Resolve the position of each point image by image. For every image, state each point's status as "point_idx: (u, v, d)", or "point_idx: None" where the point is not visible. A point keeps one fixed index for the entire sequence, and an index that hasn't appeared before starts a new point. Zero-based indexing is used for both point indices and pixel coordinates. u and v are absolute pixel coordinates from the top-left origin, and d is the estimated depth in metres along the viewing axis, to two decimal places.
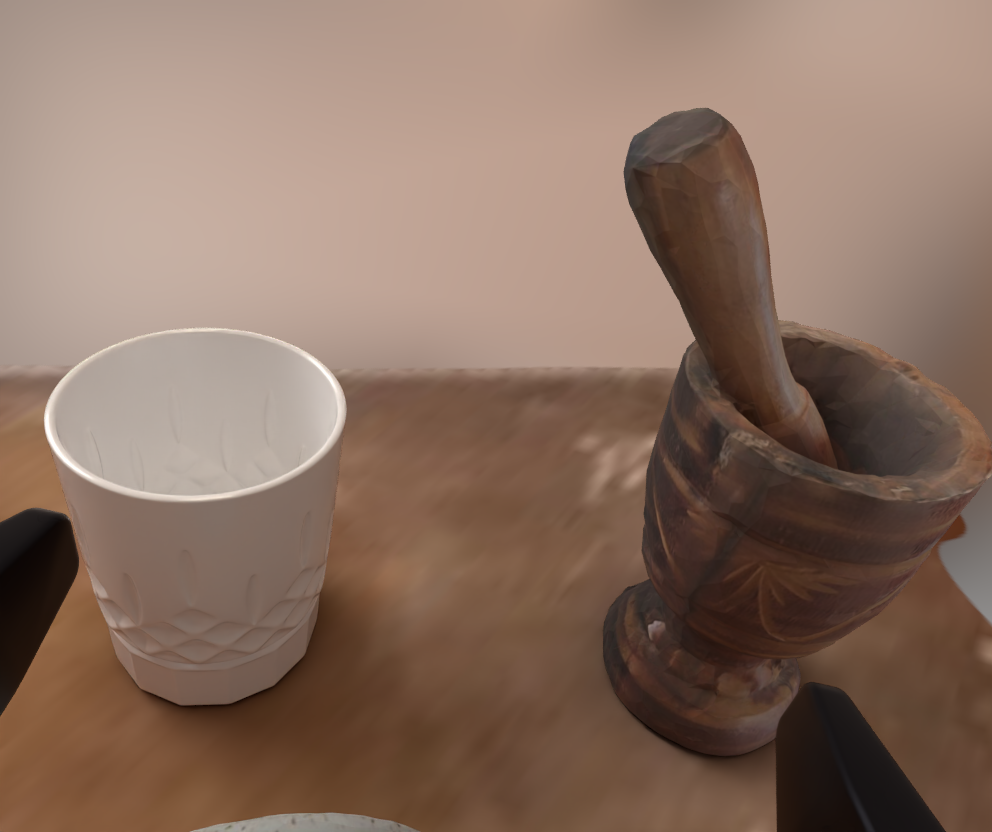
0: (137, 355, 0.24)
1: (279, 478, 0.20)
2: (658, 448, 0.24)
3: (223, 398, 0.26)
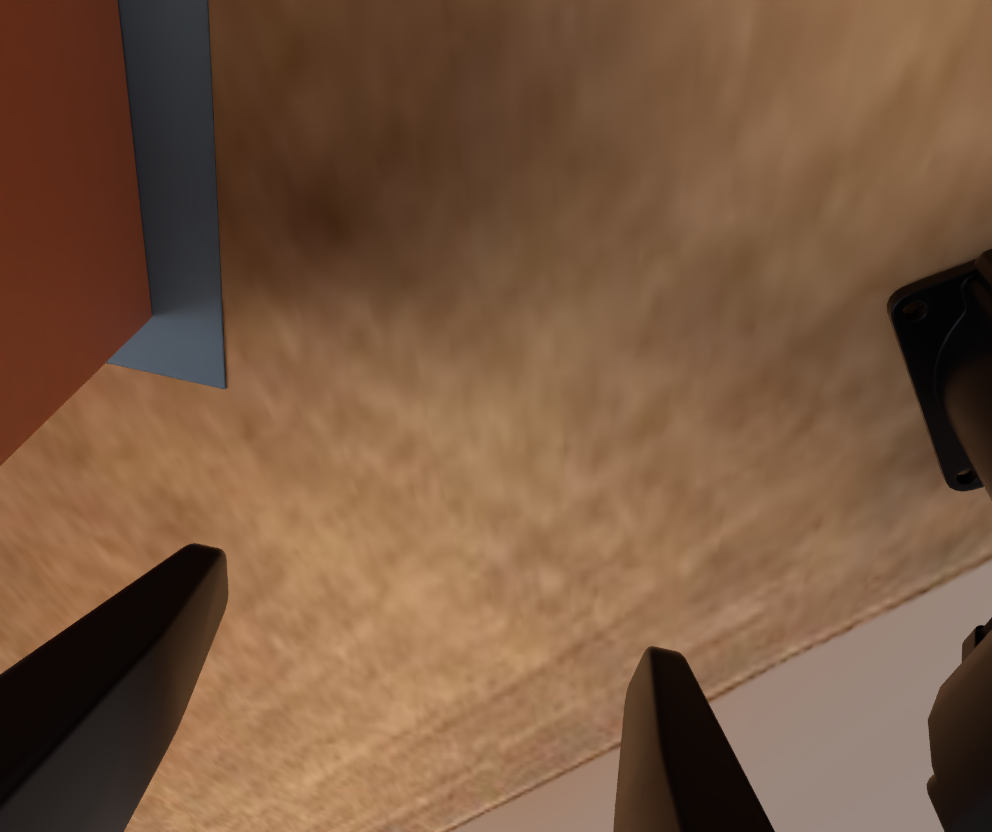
0: None
1: None
2: None
3: None
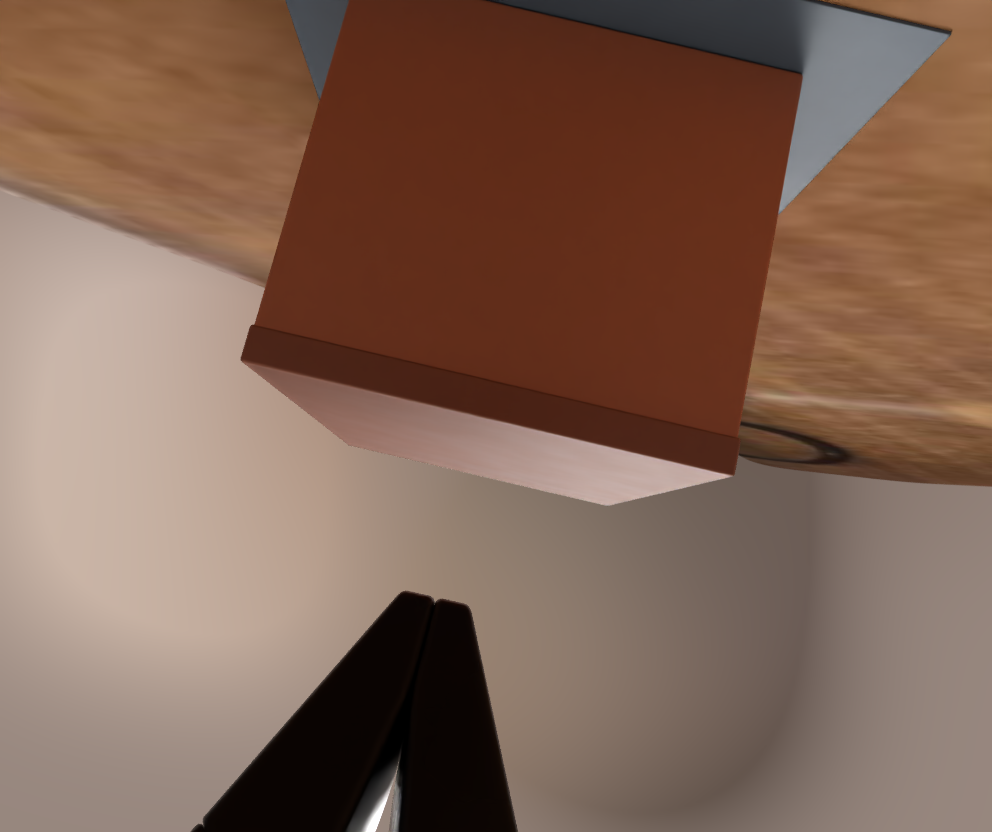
0: None
1: None
2: None
3: None
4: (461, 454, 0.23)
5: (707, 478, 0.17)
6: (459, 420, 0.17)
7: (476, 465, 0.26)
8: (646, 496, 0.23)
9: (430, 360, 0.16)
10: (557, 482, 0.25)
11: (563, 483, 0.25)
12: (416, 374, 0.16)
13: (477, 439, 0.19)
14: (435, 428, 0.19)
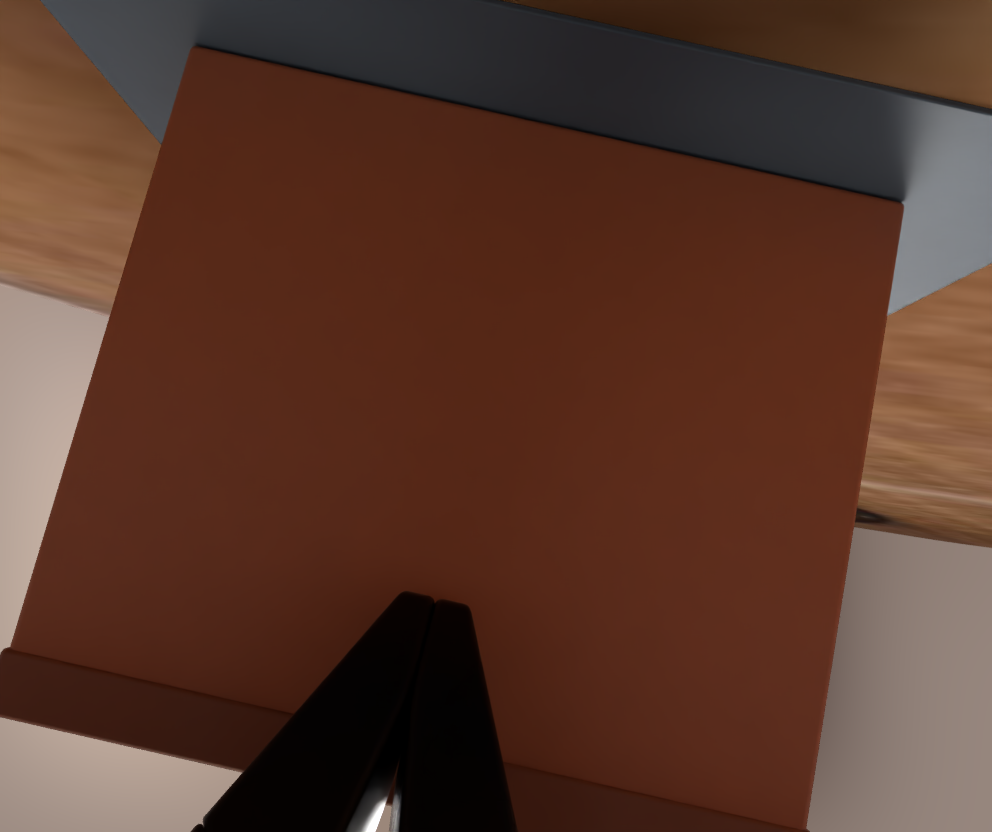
0: None
1: None
2: None
3: None
4: None
5: None
6: None
7: None
8: None
9: (298, 705, 0.09)
10: None
11: None
12: (274, 732, 0.09)
13: None
14: None
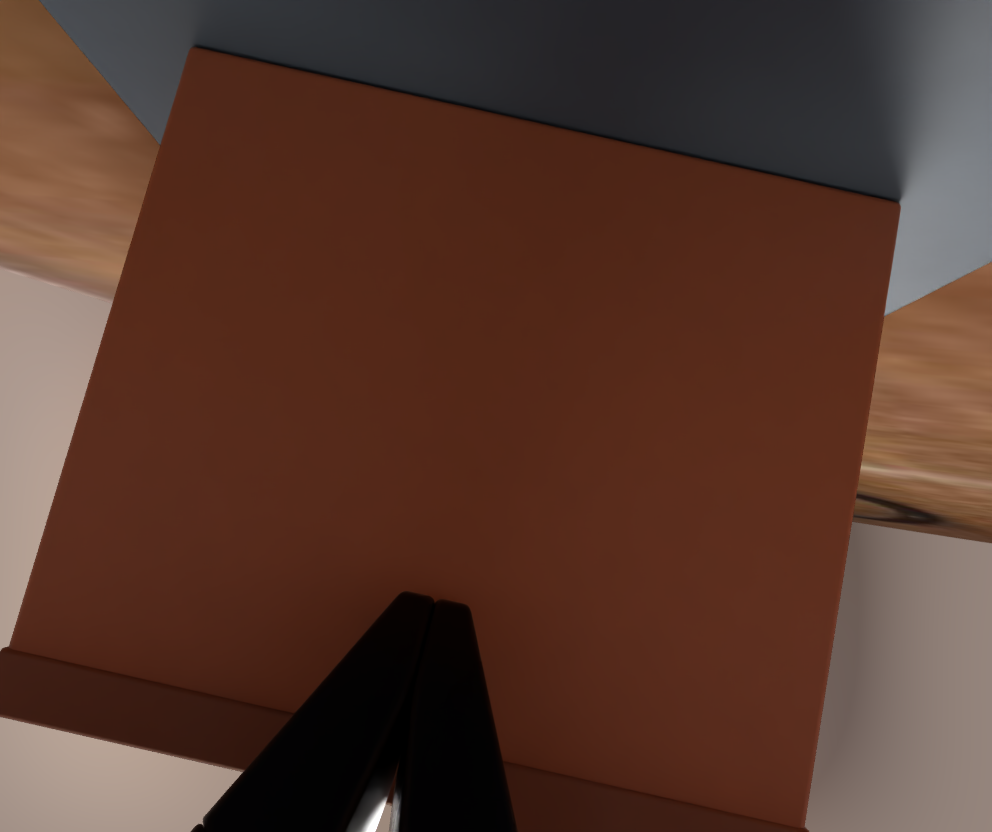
0: None
1: None
2: None
3: None
4: None
5: None
6: None
7: None
8: None
9: (297, 704, 0.09)
10: None
11: None
12: (272, 731, 0.09)
13: None
14: None
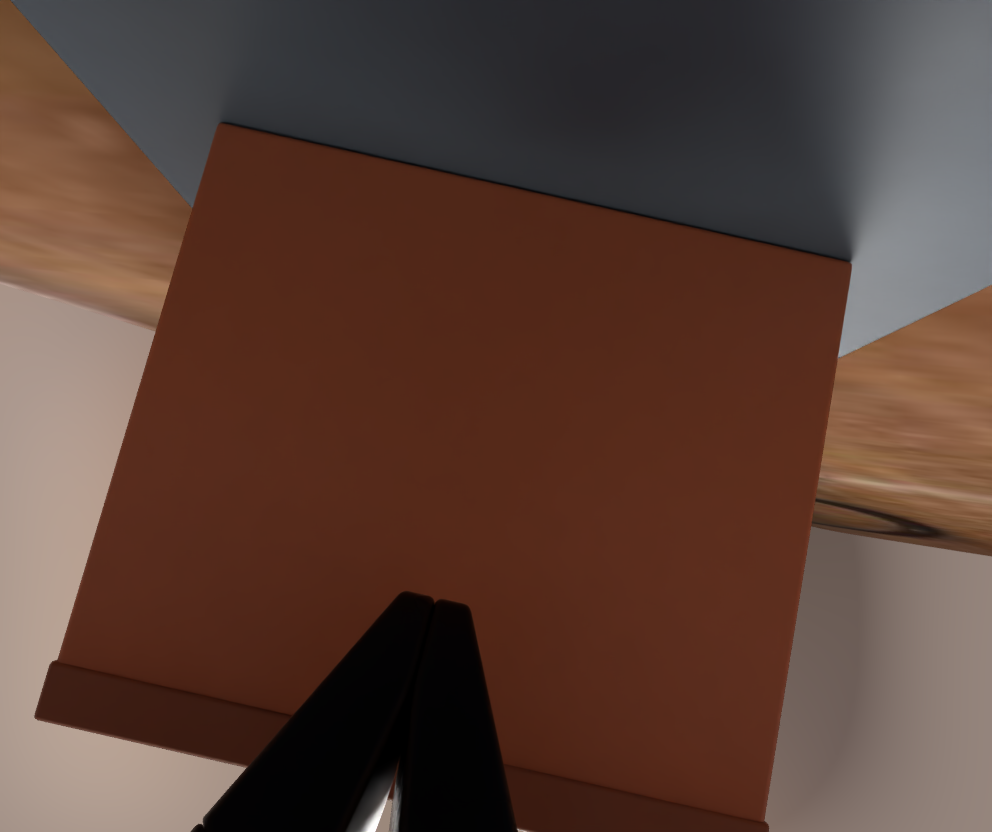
0: None
1: None
2: None
3: None
4: None
5: None
6: None
7: None
8: None
9: None
10: None
11: None
12: None
13: None
14: None
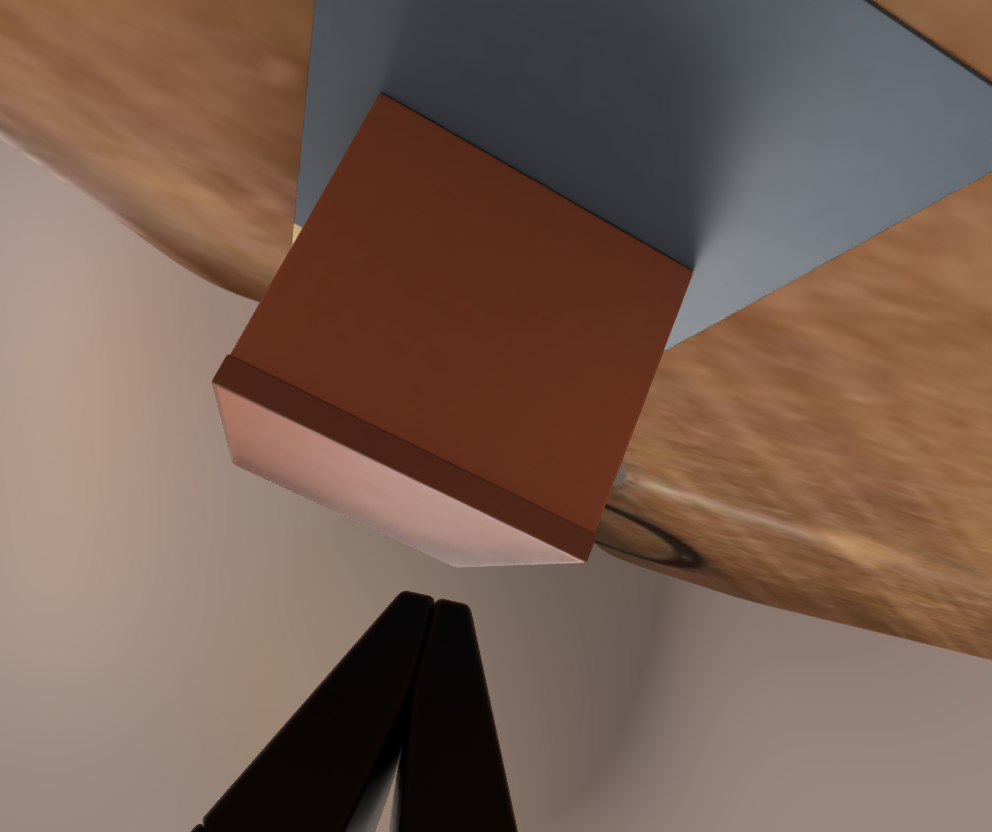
0: None
1: None
2: None
3: None
4: (350, 497, 0.26)
5: (563, 560, 0.21)
6: (380, 472, 0.20)
7: (355, 508, 0.28)
8: (499, 565, 0.27)
9: (372, 419, 0.19)
10: (424, 538, 0.28)
11: (429, 540, 0.28)
12: (358, 428, 0.19)
13: (381, 489, 0.22)
14: (348, 472, 0.22)
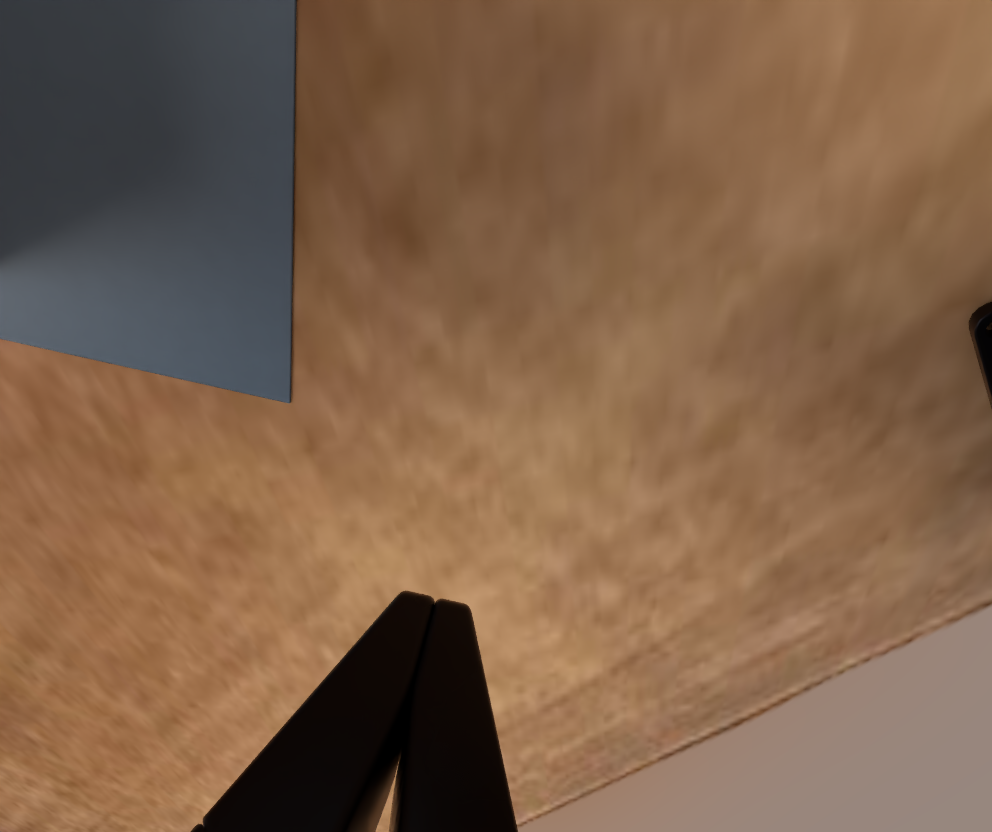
0: None
1: None
2: None
3: None
4: None
5: None
6: None
7: None
8: None
9: None
10: None
11: None
12: None
13: None
14: None
